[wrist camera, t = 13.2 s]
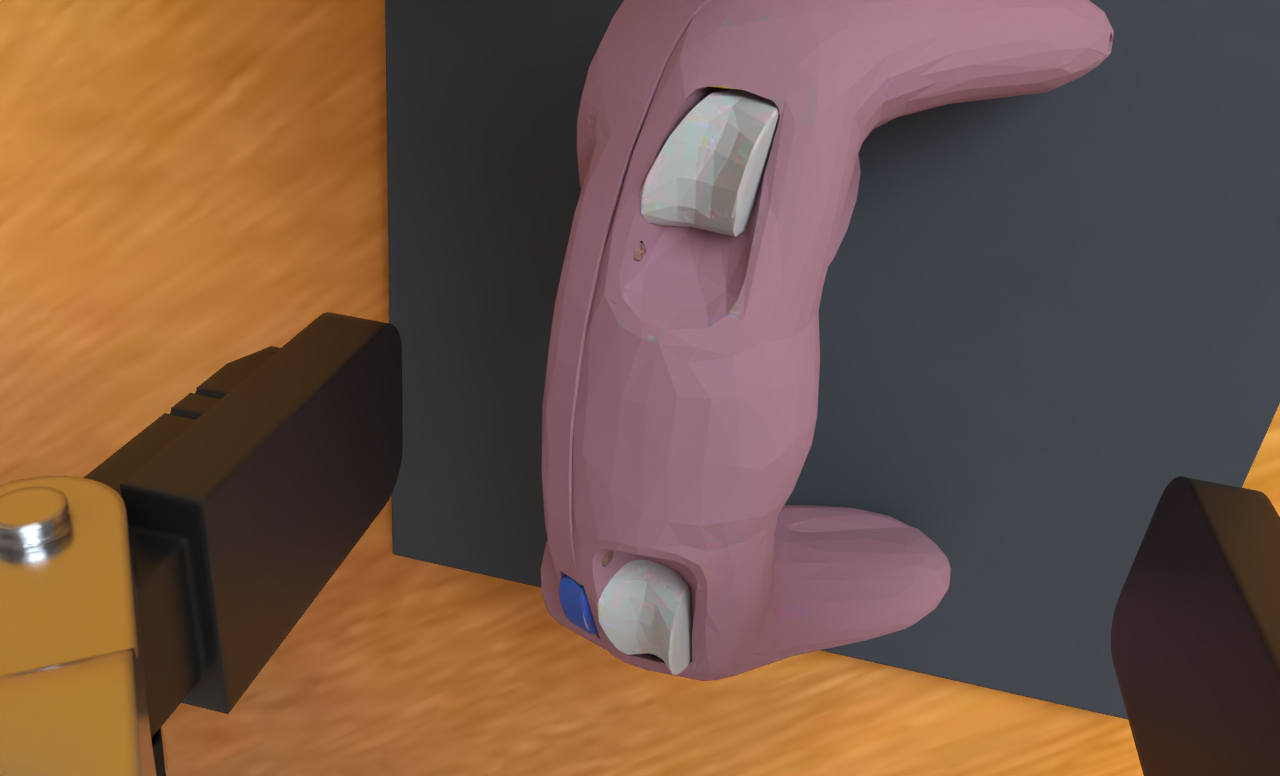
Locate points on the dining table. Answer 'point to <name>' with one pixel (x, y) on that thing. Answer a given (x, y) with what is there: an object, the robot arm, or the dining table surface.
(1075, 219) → the felt mat
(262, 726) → the dining table surface
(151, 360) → the dining table surface
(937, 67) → the video game controller
